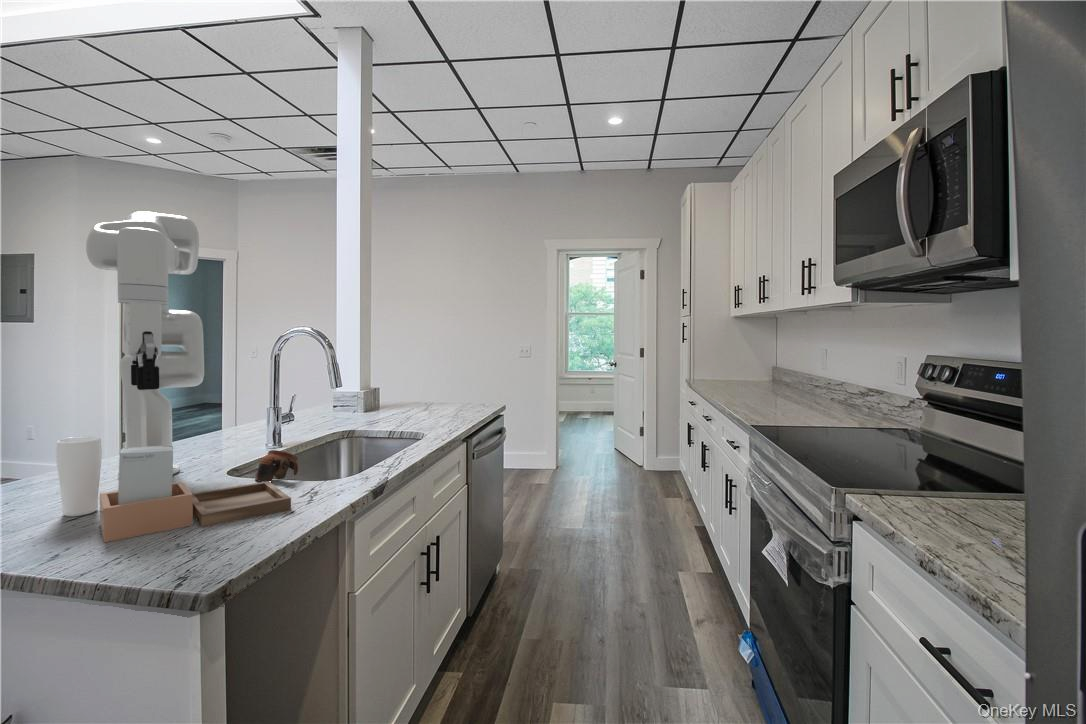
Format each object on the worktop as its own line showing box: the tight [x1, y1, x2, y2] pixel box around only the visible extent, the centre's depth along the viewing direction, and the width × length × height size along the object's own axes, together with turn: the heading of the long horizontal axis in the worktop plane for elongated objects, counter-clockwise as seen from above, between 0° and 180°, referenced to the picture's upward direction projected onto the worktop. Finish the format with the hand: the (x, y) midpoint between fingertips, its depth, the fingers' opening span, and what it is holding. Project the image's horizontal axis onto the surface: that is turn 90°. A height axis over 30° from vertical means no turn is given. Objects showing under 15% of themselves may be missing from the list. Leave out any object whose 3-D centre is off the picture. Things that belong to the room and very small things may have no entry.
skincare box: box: [117, 445, 174, 505], centre depth 98 cm, size 8×6×15 cm
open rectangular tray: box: [99, 481, 194, 543], centre depth 99 cm, size 11×13×6 cm
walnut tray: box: [191, 481, 292, 528], centre depth 109 cm, size 16×16×2 cm
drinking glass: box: [55, 435, 103, 517], centre depth 104 cm, size 7×7×15 cm
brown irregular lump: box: [254, 449, 299, 482], centre depth 132 cm, size 12×9×8 cm
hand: (144, 387), depth 97 cm, fingers open, 9 cm apart
